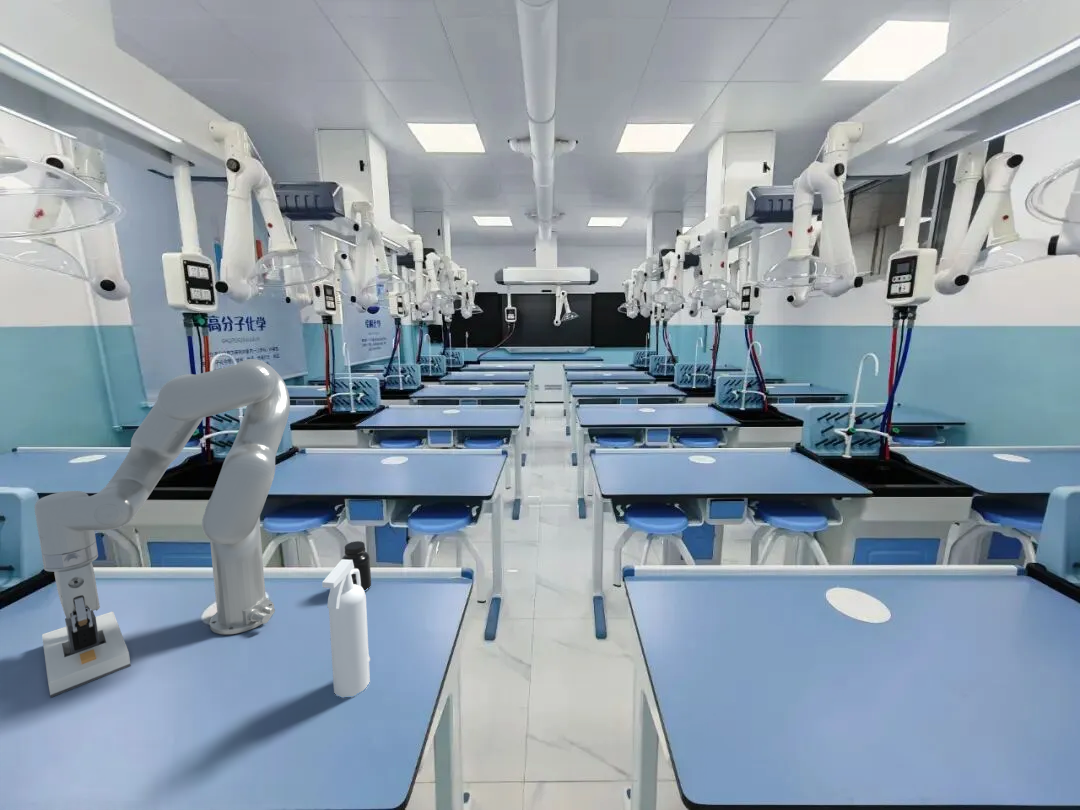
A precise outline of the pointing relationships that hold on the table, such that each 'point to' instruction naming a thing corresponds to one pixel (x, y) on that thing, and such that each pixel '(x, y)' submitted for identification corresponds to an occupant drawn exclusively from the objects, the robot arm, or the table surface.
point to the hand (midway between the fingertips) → (83, 637)
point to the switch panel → (84, 656)
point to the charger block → (70, 628)
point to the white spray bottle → (348, 630)
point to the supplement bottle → (359, 562)
